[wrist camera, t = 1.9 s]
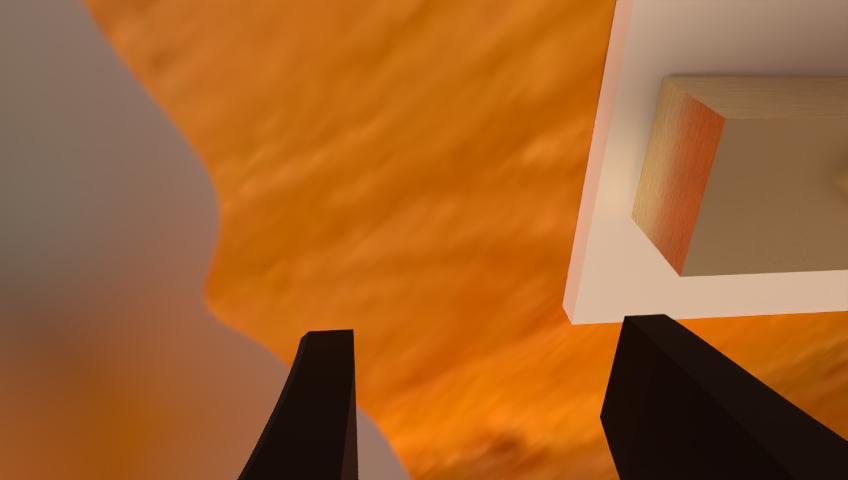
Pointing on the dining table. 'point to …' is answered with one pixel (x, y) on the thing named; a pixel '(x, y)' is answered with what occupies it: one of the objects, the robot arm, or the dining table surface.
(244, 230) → the dining table surface
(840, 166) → the block
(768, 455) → the robot arm
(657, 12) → the door panel
